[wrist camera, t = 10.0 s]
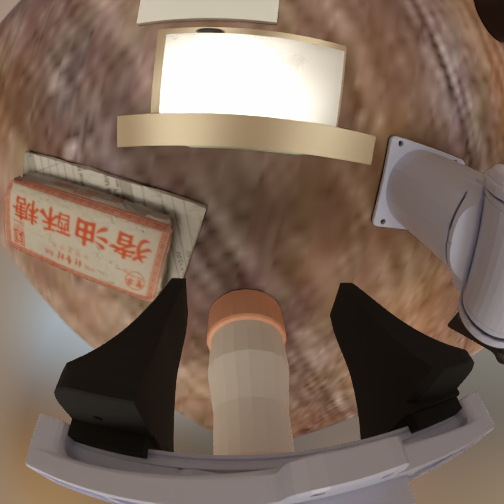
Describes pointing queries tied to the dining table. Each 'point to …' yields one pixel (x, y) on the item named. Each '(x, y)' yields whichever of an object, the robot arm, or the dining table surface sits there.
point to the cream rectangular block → (251, 76)
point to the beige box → (241, 120)
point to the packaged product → (101, 225)
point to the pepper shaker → (248, 375)
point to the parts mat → (208, 11)
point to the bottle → (492, 16)
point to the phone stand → (456, 324)
